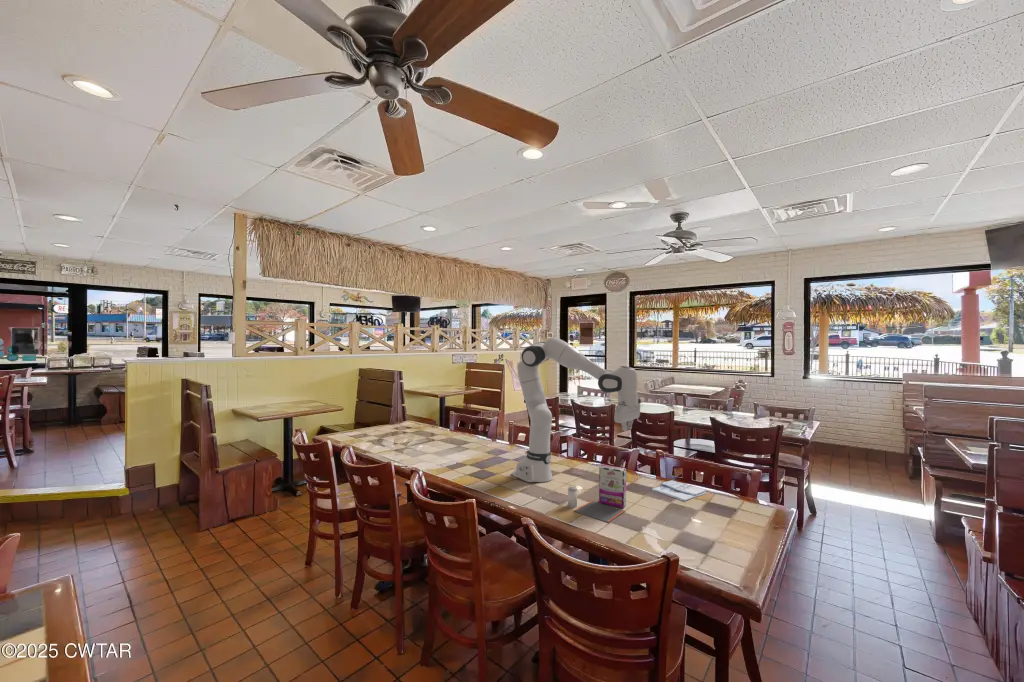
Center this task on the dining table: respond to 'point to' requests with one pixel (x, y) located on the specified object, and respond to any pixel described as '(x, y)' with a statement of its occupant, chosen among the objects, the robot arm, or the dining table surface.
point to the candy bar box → (612, 486)
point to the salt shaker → (572, 497)
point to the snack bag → (686, 490)
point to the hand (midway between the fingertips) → (627, 429)
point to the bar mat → (600, 511)
